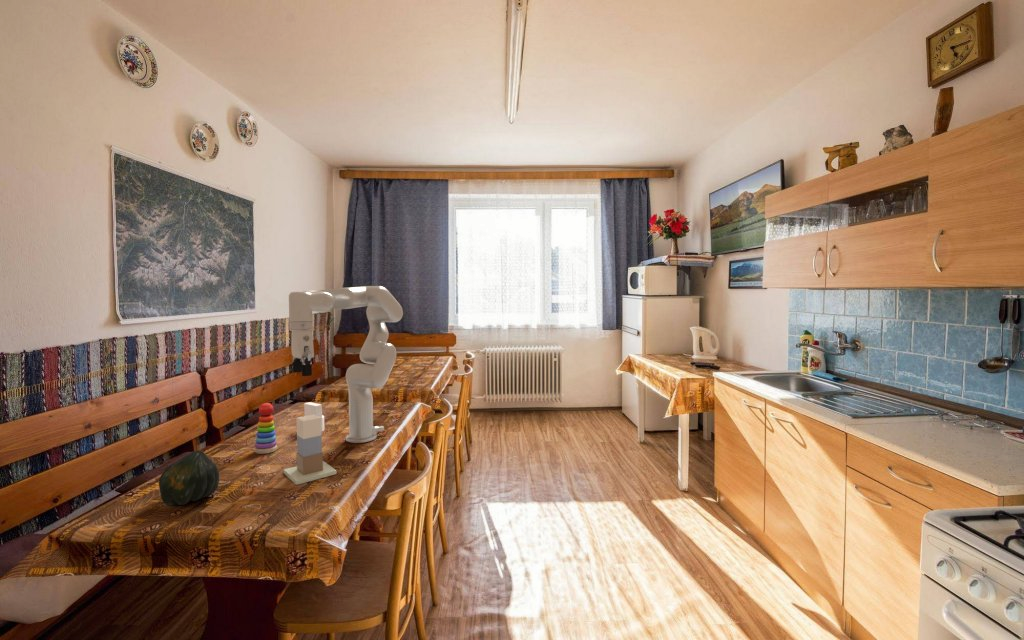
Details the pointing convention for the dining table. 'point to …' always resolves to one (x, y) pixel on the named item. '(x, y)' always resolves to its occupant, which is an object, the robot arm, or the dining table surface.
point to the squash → (188, 479)
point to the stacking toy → (265, 431)
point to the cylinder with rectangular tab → (314, 411)
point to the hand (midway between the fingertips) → (302, 374)
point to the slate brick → (309, 446)
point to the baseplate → (309, 476)
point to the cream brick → (309, 426)
